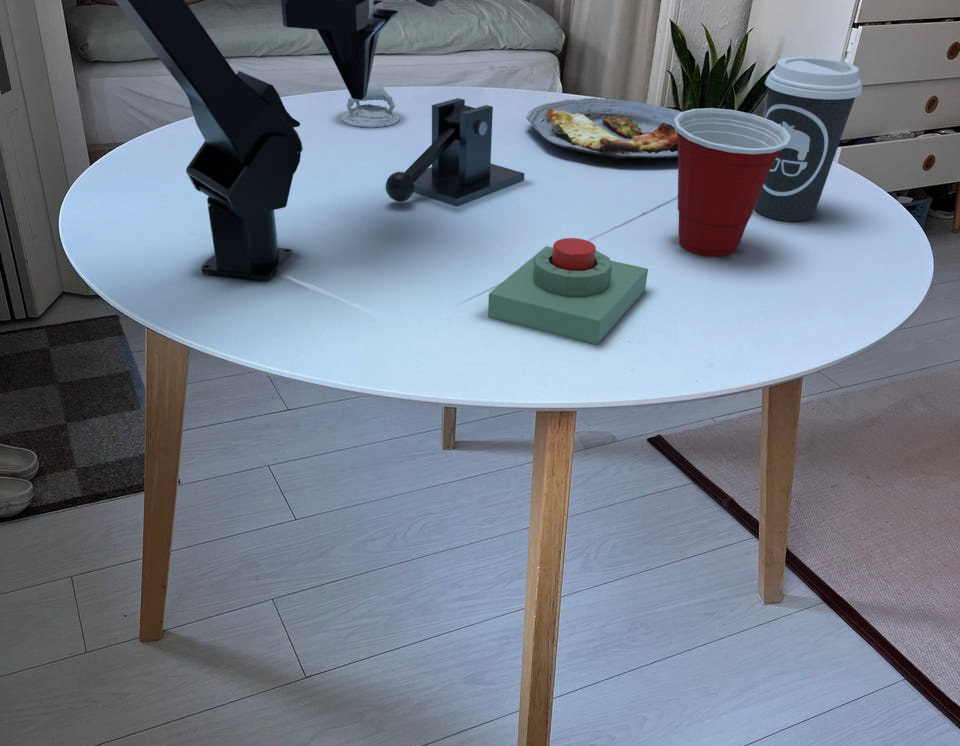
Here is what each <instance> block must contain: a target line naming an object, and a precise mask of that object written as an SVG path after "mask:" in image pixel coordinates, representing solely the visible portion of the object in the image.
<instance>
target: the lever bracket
mask: <svg viewBox="0 0 960 746" xmlns="http://www.w3.org/2000/svg"><path fill="white" fill-rule="evenodd" d="M465 101H466V99H464V98H460V97H457V98H452V99H449V100H445V101H442V102H438V103H435V104H432V105H431V145H432V144H433V143H434V142H435V140H436V139H437V138H438V137H439V136H440V135H441V134H442V133H443V132H444V131H445V130H446V129H447V127H446V124H445V121H444V119H445V118H446V117H447V116H448V115H449V114H450V113H451V112H452V111H453V110H454V109H455V108H456V107H457V106H458V105H459V104H462V105H465V103H466V102H465ZM473 108H474V109H471V110H467V111H464V112H460V141H459V140H455V141H454V142H453V143H452V144H451V145H450V146H449V147H448V148H447V149H446V150H445V151H444V152H443V153H442V154H441V155H440V156H439V157H438V158H437V159H436V160H435V161H434V162H433V163H432V164H431V166H430V167H428V168H427V170H426V171H425V172H424V173H423V174H422V175H421V176H420V177H419V178H418V179H417V180H416V181H415V182H414V192H413V194H417V195H420V196H423V197H426V198H429V199H433V200H435V201H439V202H442V203H444V204H447V205H450V206H454V207H459V206H462V205H464V204H466V203H467V204H468V203H469V202H472V201H475V200H478V199H480V198H482V197H485V196H487V195H490V194H492V193H495V192H498V191H500V190H503V189H505V188H508V187H511V186H513V185H516V184H519V183H521V182H524V181H525V172H521V171H518V170H514V169H512V168H508V167H505V166H501V165H498V164H495V163H492V161H491V160H492V141H493V140H492V138H493V117H494V116H493V114H494V113H493V111H494V106H492V105H488V104H485V105H482V106H478V107H473Z"/></svg>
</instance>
